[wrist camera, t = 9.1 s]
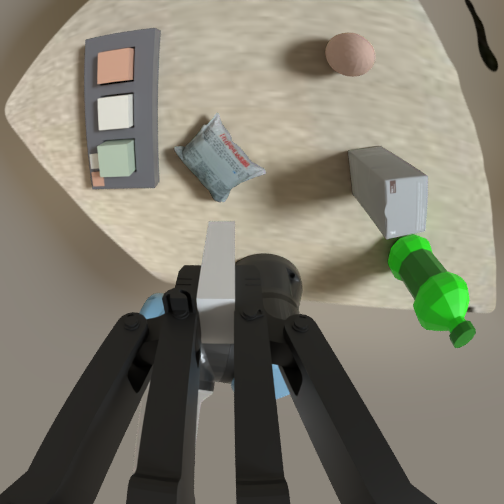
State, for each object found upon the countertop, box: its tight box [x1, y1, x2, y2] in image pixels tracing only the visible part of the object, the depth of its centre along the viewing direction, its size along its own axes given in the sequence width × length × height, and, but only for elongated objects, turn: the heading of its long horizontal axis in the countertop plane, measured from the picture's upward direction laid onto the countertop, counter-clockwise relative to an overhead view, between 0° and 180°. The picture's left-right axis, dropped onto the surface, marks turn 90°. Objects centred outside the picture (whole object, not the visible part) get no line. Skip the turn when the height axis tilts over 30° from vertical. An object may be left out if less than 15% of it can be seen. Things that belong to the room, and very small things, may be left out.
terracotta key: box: [97, 48, 135, 84], centre depth 32 cm, size 5×5×4 cm
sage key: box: [97, 138, 136, 177], centre depth 39 cm, size 5×5×4 cm
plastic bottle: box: [388, 234, 476, 348], centre depth 44 cm, size 10×10×25 cm
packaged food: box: [174, 113, 266, 203], centre depth 42 cm, size 9×12×5 cm
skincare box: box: [348, 146, 428, 239], centre depth 39 cm, size 8×7×16 cm
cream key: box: [98, 94, 134, 130], centre depth 36 cm, size 5×5×4 cm
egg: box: [325, 33, 375, 76], centre depth 31 cm, size 7×7×9 cm
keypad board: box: [84, 28, 161, 189], centre depth 37 cm, size 25×11×3 cm, turn 176°
